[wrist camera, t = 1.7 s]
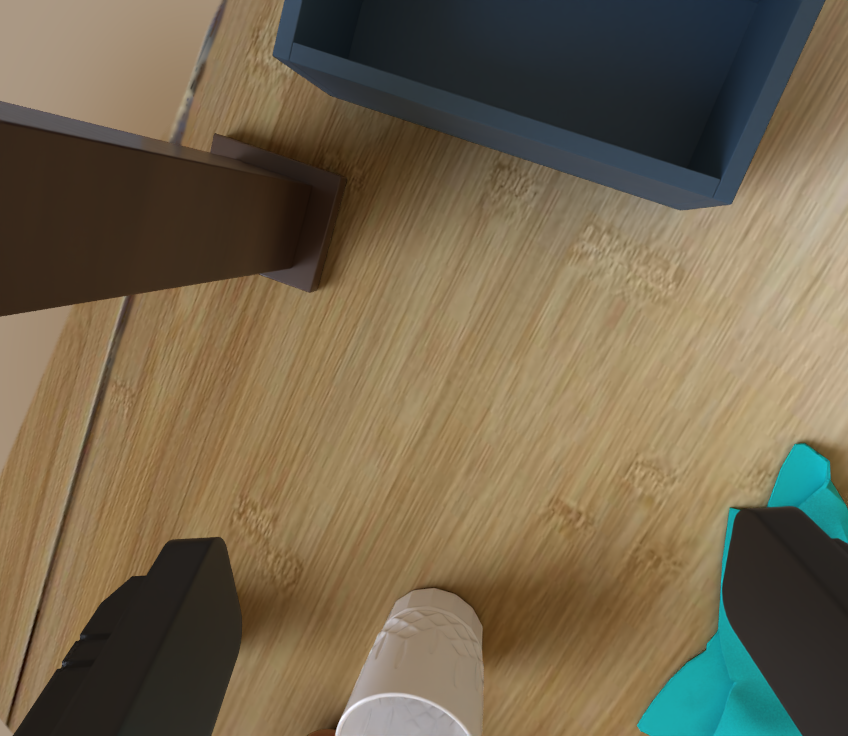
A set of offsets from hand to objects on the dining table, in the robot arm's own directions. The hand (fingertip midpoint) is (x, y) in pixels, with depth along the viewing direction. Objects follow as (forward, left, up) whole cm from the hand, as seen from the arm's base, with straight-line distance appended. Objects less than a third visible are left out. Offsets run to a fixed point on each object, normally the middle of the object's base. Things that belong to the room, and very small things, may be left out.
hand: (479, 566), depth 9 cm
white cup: (+16, -15, -26) cm, 34 cm away
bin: (-12, +8, -26) cm, 30 cm away
